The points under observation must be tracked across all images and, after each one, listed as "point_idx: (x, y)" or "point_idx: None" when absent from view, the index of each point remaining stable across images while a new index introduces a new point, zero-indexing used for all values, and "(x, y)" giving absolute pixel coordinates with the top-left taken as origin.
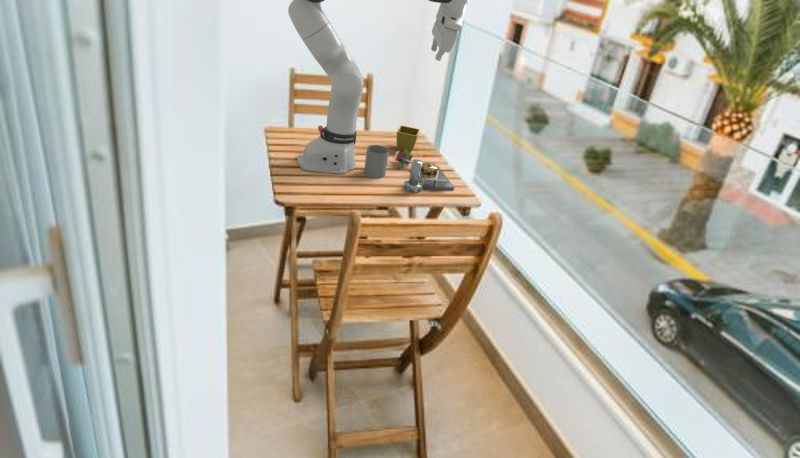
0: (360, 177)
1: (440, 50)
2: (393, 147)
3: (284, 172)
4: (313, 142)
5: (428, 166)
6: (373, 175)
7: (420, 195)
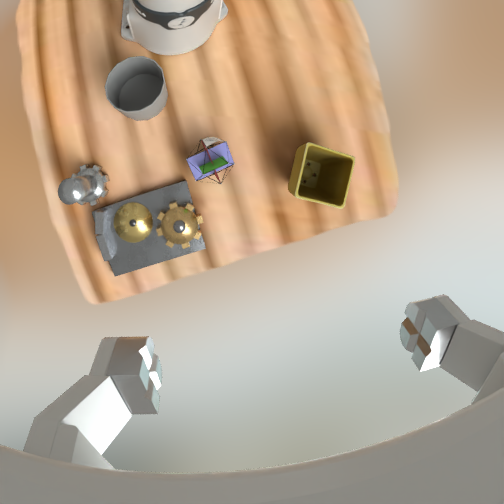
0: None
1: (39, 440)
2: None
3: None
4: None
5: (174, 222)
6: (118, 95)
7: None
